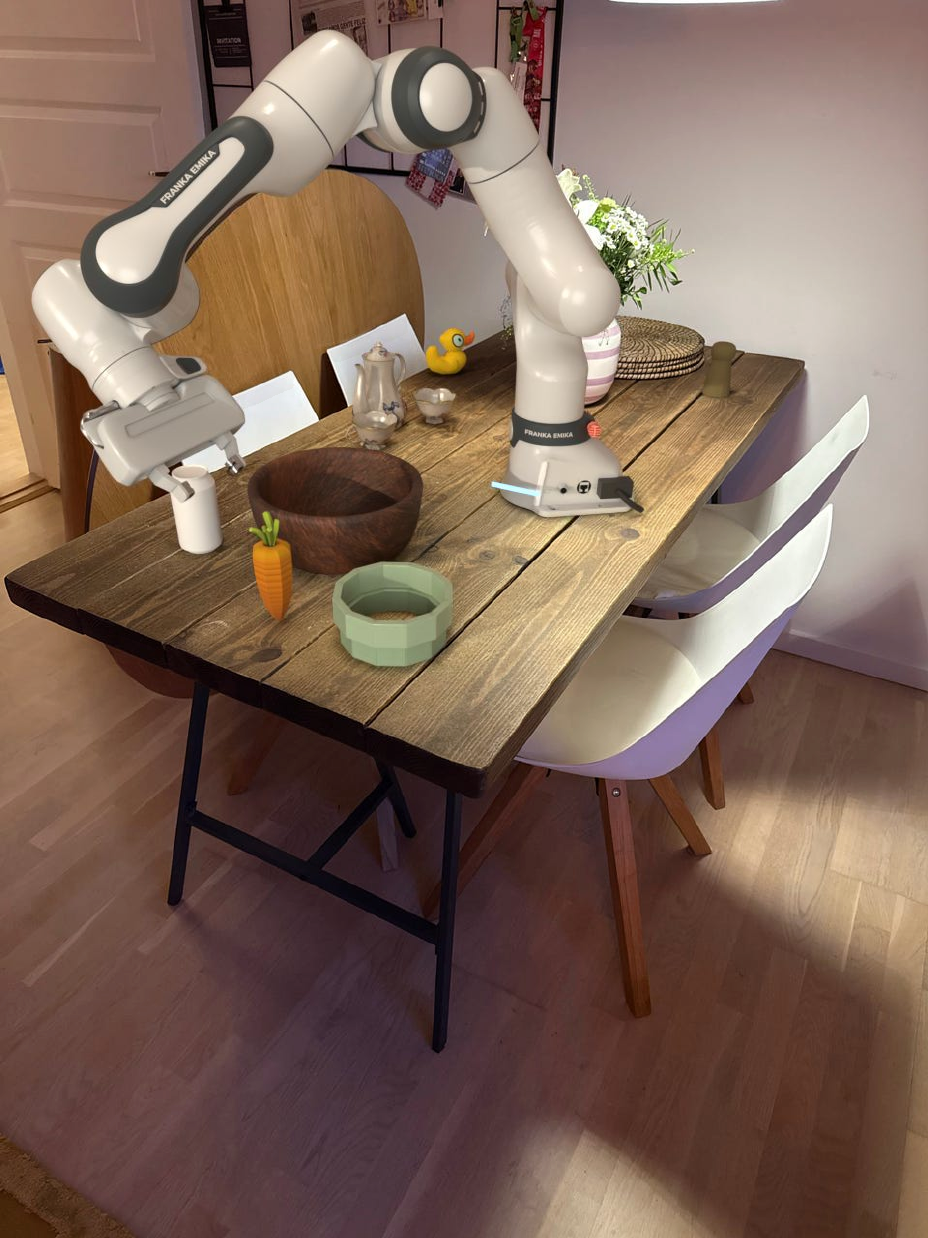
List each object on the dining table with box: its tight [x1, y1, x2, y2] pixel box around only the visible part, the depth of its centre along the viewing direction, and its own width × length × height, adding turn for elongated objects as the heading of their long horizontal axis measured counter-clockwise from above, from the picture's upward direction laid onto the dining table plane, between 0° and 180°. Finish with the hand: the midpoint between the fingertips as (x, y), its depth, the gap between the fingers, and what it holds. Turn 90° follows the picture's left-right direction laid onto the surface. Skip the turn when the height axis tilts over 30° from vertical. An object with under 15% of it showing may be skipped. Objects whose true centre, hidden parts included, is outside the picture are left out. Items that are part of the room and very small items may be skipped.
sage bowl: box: [331, 561, 454, 667], centre depth 109 cm, size 15×15×7 cm
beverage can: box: [169, 464, 224, 555], centre depth 125 cm, size 6×6×12 cm
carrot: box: [248, 511, 293, 622], centre depth 108 cm, size 5×5×15 cm
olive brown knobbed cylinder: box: [701, 340, 737, 398], centre depth 189 cm, size 6×6×11 cm
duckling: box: [425, 327, 476, 375], centre depth 195 cm, size 11×5×10 cm, turn 111°
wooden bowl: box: [246, 446, 424, 576], centre depth 127 cm, size 25×25×10 cm
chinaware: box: [345, 340, 458, 451], centre depth 165 cm, size 28×17×17 cm, turn 148°
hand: (215, 483), depth 106 cm, fingers open, 8 cm apart
